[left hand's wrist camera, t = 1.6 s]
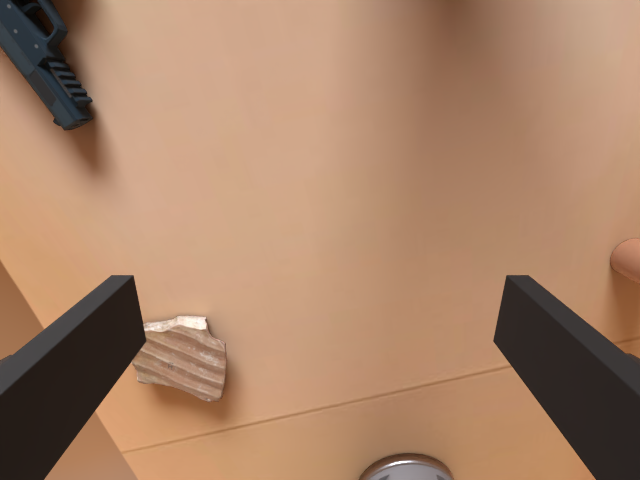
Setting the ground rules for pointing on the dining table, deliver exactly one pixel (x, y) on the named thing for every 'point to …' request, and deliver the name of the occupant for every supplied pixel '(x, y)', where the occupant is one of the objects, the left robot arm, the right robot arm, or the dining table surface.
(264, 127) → the dining table surface
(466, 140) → the dining table surface
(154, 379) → the stone
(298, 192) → the dining table surface
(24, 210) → the dining table surface
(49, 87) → the handgun
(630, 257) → the bottle
